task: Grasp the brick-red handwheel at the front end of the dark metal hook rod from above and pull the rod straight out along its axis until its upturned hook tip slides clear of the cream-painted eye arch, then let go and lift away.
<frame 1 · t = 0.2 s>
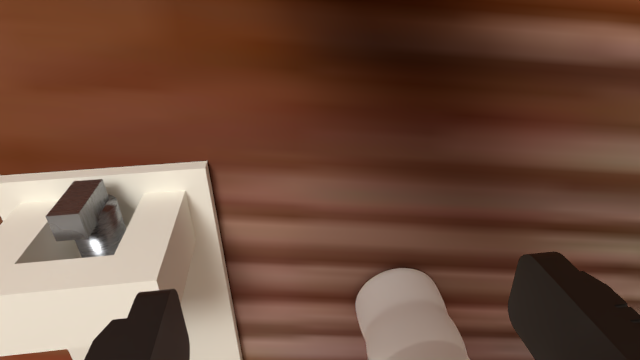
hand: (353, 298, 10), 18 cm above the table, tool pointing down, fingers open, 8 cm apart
hook rod: (111, 354, 25), point 7 cm above the table, slide at 0.0 cm
eye post: (123, 231, 28), on the table
water bottle: (393, 293, 35), on the table
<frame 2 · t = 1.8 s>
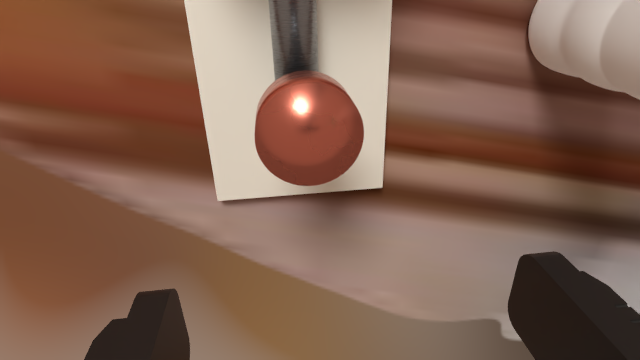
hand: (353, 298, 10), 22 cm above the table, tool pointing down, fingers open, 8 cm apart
water bottle: (569, 19, 29), on the table
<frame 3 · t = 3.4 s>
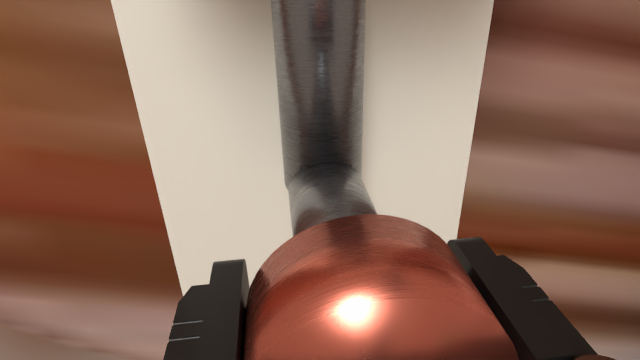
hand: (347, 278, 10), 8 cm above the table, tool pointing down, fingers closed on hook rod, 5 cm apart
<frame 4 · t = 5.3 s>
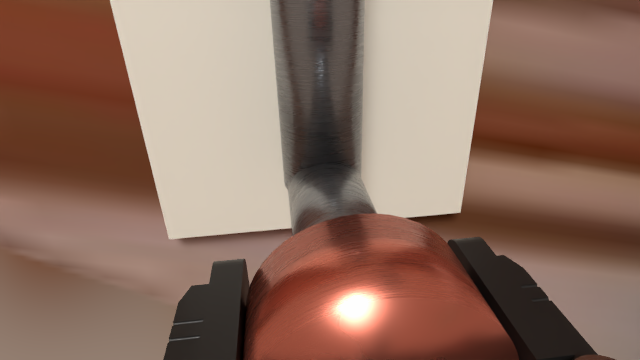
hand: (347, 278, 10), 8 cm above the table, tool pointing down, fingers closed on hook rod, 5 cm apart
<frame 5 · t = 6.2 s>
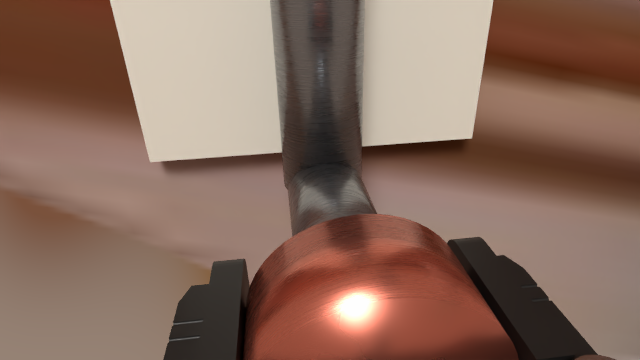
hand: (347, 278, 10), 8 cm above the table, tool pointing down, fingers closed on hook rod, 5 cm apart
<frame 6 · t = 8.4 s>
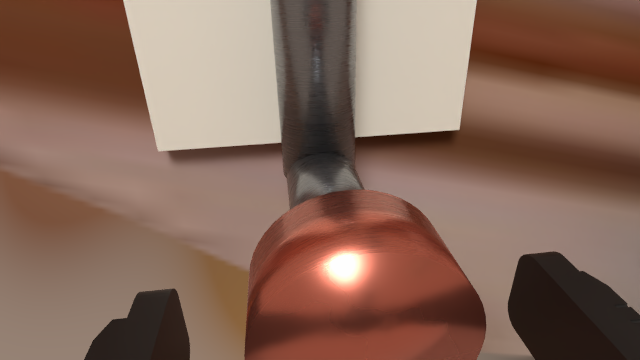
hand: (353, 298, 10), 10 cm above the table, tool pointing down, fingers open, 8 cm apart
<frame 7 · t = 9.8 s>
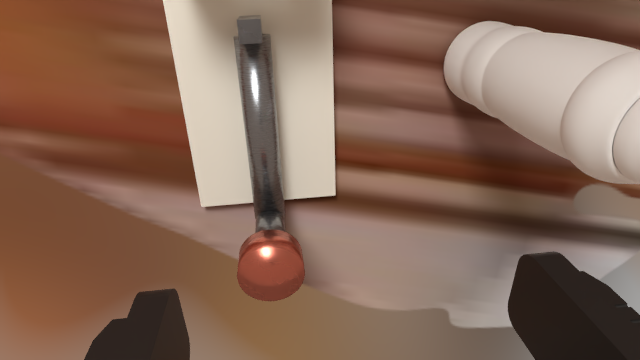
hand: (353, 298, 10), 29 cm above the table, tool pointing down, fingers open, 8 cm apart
hook rod: (262, 157, 32), point 7 cm above the table, slide at 9.5 cm
water bottle: (477, 61, 37), on the table
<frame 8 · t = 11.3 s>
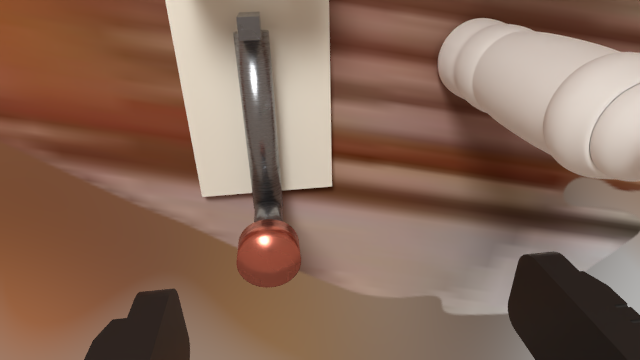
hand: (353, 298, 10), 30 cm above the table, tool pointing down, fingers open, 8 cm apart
hook rod: (260, 149, 33), point 7 cm above the table, slide at 9.5 cm
water bottle: (470, 56, 38), on the table
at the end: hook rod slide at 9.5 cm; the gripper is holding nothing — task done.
